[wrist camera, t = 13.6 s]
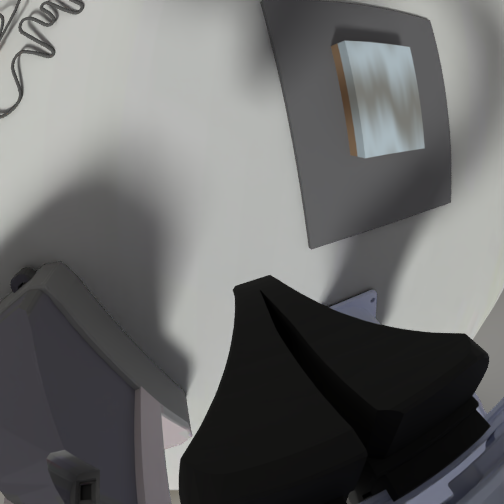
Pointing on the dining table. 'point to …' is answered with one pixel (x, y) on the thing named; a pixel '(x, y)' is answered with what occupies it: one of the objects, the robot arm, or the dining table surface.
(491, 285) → the dining table surface
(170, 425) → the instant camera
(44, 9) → the headphones
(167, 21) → the dining table surface
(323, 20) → the mat
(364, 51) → the tile
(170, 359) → the dining table surface
